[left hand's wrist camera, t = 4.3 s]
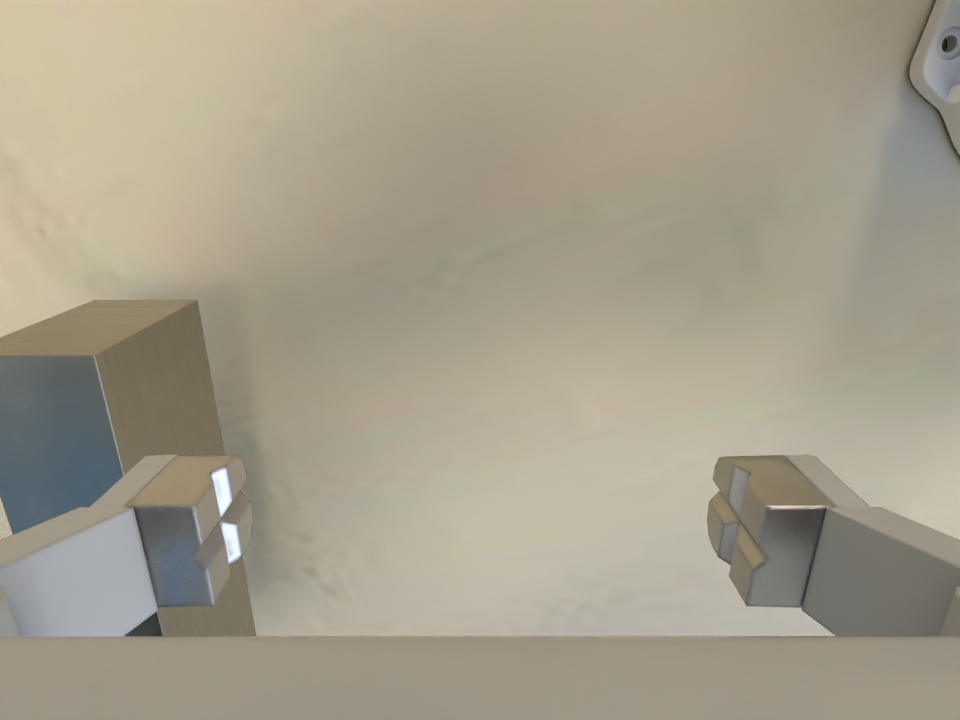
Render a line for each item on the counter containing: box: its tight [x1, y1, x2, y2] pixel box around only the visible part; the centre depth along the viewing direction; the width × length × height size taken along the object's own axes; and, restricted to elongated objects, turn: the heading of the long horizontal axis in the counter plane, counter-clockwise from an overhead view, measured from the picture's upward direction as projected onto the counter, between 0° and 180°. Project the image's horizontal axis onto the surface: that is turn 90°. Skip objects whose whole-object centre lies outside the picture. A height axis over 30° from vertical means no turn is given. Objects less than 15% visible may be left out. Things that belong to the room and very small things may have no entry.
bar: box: [0, 300, 256, 636], centre depth 30 cm, size 24×6×9 cm, turn 0°
